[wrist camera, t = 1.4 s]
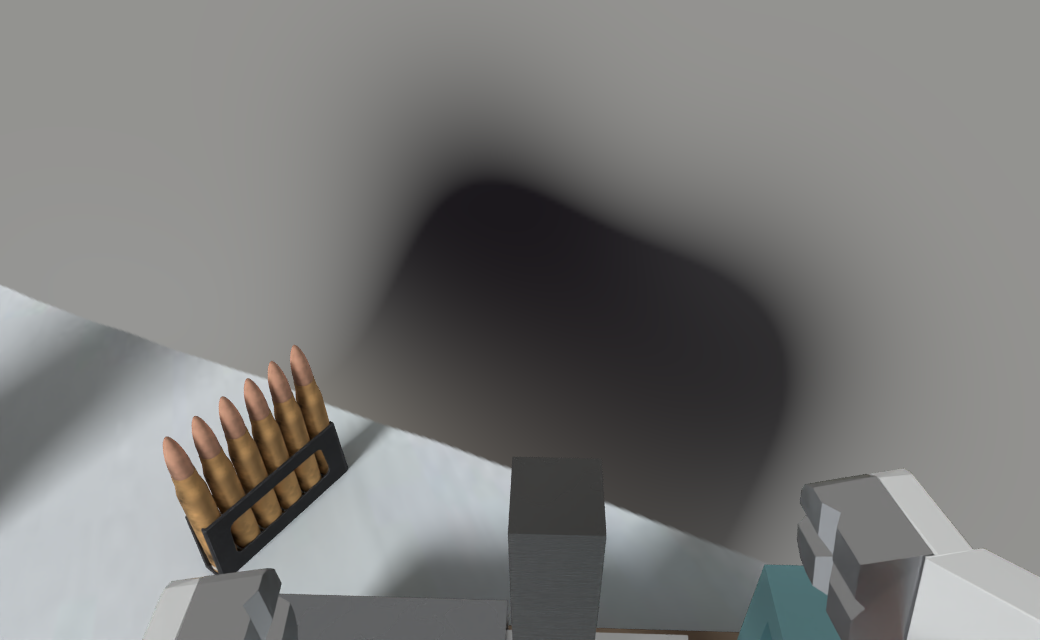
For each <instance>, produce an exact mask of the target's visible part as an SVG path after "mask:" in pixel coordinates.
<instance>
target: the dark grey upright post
mask: <svg viewBox="0 0 1040 640" xmlns="http://www.w3.org/2000/svg"><path fill="white" fill-rule="evenodd" d="M508 544H509V569H510V593H511V618H512V630H506V640H688V635H665V634H632V633H599V632H596V627H597V617H598V608H599V599H600V590H601V581H602V572H603V562H604V553H605V544H606V522H605V506H604V491H603V474H602V459H591V458H543V457H513V458H512V475H511V492H510V509H509V526H508Z"/></svg>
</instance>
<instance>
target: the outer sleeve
mask: <svg viewBox="0 0 1040 640" xmlns="http://www.w3.org/2000/svg"><path fill="white" fill-rule="evenodd" d="M279 597H281V598H283V599H285V600H286V601H288V602H290V603H291V606H292V608H293V610H294V613H295V617H296V622H297V626H298V640H506V630H509V626H508V605H507V600H480V599H446V598H410V597H376V596H341V595H306V594H279Z"/></svg>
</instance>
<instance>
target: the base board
mask: <svg viewBox="0 0 1040 640" xmlns="http://www.w3.org/2000/svg"><path fill="white" fill-rule="evenodd" d="M508 626H509V630H512V625H508ZM596 632H599V633H632V634H665V635H688V640H737V639H738V636H739V633H740V632H712V631H679V630H646V629H612V628H596Z"/></svg>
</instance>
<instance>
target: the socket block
mask: <svg viewBox="0 0 1040 640" xmlns="http://www.w3.org/2000/svg"><path fill="white" fill-rule="evenodd" d="M827 597H828V595H826V594H825V593H823V592H822V591H820V590H818V589H817V588H815V587H814V586H812V584H811V582H810V580H809V578H808V576H807V574H806V572H805V569H804V566H797V565H764V568H763V570H762V573H761V576H760V578H759V581H758V584H757V587H756V589H755V592H754V595H753V598H752V600H751V603H750V606H749V608H748V611H747V614H746V617H745V619H744V622H743V625H742V628H741V630H740V633H739V636H738V639H737V640H841V639H840V637H839V635H838V633H837V631H836V629H835V627H834V625H833V624H832V622H831V620H830V618H829V616H828V614H827V612H826V605H827Z"/></svg>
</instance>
